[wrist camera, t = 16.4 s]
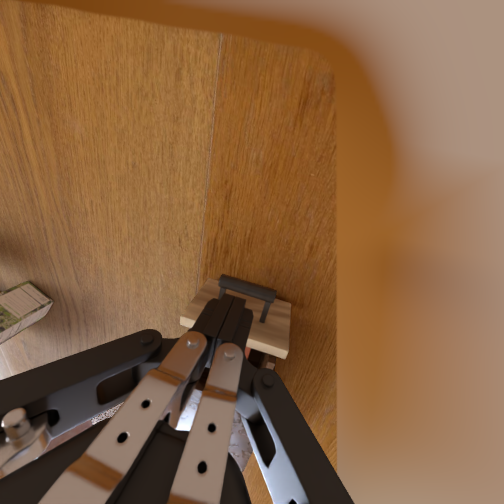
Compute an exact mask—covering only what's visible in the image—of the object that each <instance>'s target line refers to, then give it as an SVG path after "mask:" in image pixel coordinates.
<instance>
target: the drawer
mask: <svg viewBox="0 0 504 504" xmlns="http://www.w3.org/2000/svg"><path fill="white" fill-rule="evenodd" d="M224 293H227V294H230V295H234V296H235V297H236V296H237V297H240V298H243V299H247V300H246V304H245V308H248V309H251V310H252V311H253V315H254V318H253V321H252V325H251V329H250V333H249V336H248V340H247V344H246V346H247V347H250V348H251V350H250V353H249V357H248V361H249V362H250V363H251V364H252V365H253V366H254V367H256V368H257V369H260V368H269V369H272V370H273V368H274V366H275V362H276V356H277V357H280V358H283V359H286V357H287V354H288V352H289V336H290V316H291V303H288V302H285V301H282V300H278V299H275V297H276V293H277V291H276V290H274V289H271V288H267V287H264V286H261V285H258V284H254V283H251V282H248V281H244V280H241V279H238V278H235V277H231V276H228V275H225V274H222V275H221V277H220V279H219V281H217V280H214V279H211V278H208V280H207V281H206V282H205V284H204V285H203V287H202V288H201V289H200V291H199V292H198V293H197V295H196V296H195V297H194V299H193V300H192V301H191V303H190V304H189V305H188V307H187V308H186V310H185V311H184V312H183V314H182V315H181V318H180V325H183V326H186V327H189V330H188V332H189V331H190V330H191V328H192V326H193V325H194V323H195V322H196V320H197V318H198V317H199V315H200V313H201V312H202V310H203V309H204V307H205V305H206V304H207V302H208V301H210V300H211V299H213V298H216V299H219V300H220V299H221V297H222V295H223V294H224ZM211 365H212V363H211ZM210 369H211V366H210V368H207V367H205V368H204V370H203V373H202V375H201V377H200V380H199V382H198V383H200V384H203V385H205V384H206V381H207V378H208V375H209V372H210Z"/></svg>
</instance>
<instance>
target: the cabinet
mask: <svg viewBox="0 0 504 504" xmlns="http://www.w3.org/2000/svg"><path fill="white" fill-rule="evenodd" d="M274 370H275V366H274V368H273V371H274ZM204 387H205V385H203V384H200V383H198V384H197V386H196V388H195V390H194V392H193V394H192V396H191V397H190V399H189V401H188V403H187V405H186V407H185V409H184V411H183V413H182V415H181V417H180V419H179V422H178V425H177V427H176V430H189V431H190V429H191V425H192V422H193V419H194V416H195V413H196V410H197V407H198V404H199V400H200V397H201V394H202V391H203V389H204ZM228 452H229V453H230V454H231V455H232V457H233V458H234V459H235V461H236V462H237V464H238V466H239V468H240V470H241V472H243V471H244V469H245V467H246V464H247V462H248V460H249V458H250V456H251V454H252V452H253V448H252V445H251V443H250V440H249V437H248V435H247V432H246V430H245V427H244V424H243V422H242V419H241V414H240V413H239V412H238V411H237V410H235V415H234V421H233V427H232V433H231V439H230V445H229V451H228Z"/></svg>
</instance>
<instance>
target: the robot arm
mask: <svg viewBox="0 0 504 504" xmlns="http://www.w3.org/2000/svg"><path fill="white" fill-rule="evenodd" d="M246 300H247V299H243V298H240V297H237V296H236V297H235V296H234V295H230V294H227V293H224V294H223V295H222V297H221V299H220V300H219V299H216V298H213V299H211V300H210V301H208V302H207V304H206V305H205V307H204V309H203V310H202V312H201V313H200V315H199V317H198V318H197V320H196V322H195V323H194V325H193V326H192V328H191V330H190V331H189V332H187V333H185V334H183V335H182V336H181V337H180V338H175V339H168V338H162V335H161V333H160V332H158V331H156V330H153V329H146V330H142V331H139V332H136V333H133V334H131V335H128V336H125V337H122V338H119V339H116V340H114V341H111V342H108V343H105V344H102V345H99V346H97V347H94V348H91V349H88V350H85V351H82V352H79V353H77V354H74V355H71V356H68V357H65V358H62V359H60V360H57V361H54V362H51V363H48V364H45V365H43V366H40V367H37V368H34V369H31V370H28V371H26V372H23V373H20V374H17V375H14V376H11V377H9V378H6V379H3V380H0V504H251V500H250V497H249V494H248V490H247V487H246V484H245V480H244V477H243V475H242V472H241V470H240V468H239V466H238V464H237V462H236V461H235V459H234V458H233V457H232V455H231V454H230V453H229V452H228V451H229V445H230V439H231V433H232V427H233V421H234V415H235V410H237V411H238V412H239V413H240V414H241V419H242V422H243V424H244V427H245V430H246V432H247V435H248V437H249V440H250V443H251V445H252V448H253V450H254V453H255V456H256V458H257V461H258V463H259V466H260V469H261V471H262V474H263V477H264V479H265V482H266V484H267V487H268V490H269V492H270V495H271V497H272V500H273V503H274V504H354V502H353V501H352V499H351V497H350V495H349V494H348V492H347V490H346V489H345V487H344V486H343V484H342V482H341V480H340V479H339V477H338V475H337V473H336V472H335V470H334V468H333V467H332V465H331V463H330V461H329V460H328V458H327V456H326V455H325V453H324V451H323V450H322V448H321V446H320V444H319V443H318V441H317V439H316V438H315V436H314V434H313V433H312V431H311V429H310V427H309V426H308V424H307V422H306V421H305V419H304V417H303V416H302V414H301V412H300V410H299V409H298V407H297V405H296V404H295V402H294V400H293V399H292V397H291V395H290V394H289V392H288V390H287V388H286V387H285V385H284V383H283V382H282V380H281V378H280V377H279V375H278V374H277V373H276V372H275V371H273V370H272V369H269V368H260V369H257V368H256V367H254V366H253V365H252V364H251V363H250V362H249V361H248V360H247V358H246V355H245V348H246V344H247V340H248V336H249V333H250V329H251V325H252V321H253V318H254V315H253V311H252V310H251V309H248V308H245V304H246ZM211 363H212V365H211ZM210 366H211V369H210V372H209V375H208V378H207V381H206V384H205V387H204V389H203V391H202V394H201V397H200V400H199V404H198V407H197V410H196V413H195V416H194V419H193V422H192V425H191V429H190V431H189V430H176V427H177V425H178V422H179V419H180V417H181V415H182V413H183V411H184V409H185V407H186V405H187V403H188V401H189V399H190V397H191V396H192V394H193V392H194V390H195V388H196V386H197V384H198V382H199V380H200V377H201V375H202V373H203V370H204V368H205V367H207V368H210ZM122 402H124V403H123V404H122V405H121V406H120V408H119V409H118V410H117V411H116V413H115V414H114V415H113V417H110V418H107V419H105V420H102V421H100V422H98V423H96V424H95V425H93V426H91V427H89V428H88V429H86V430H84V431H83V432H81V433H79V434H77V435H76V436H74V437H72V438H70V439H69V440H67V441H65V442H64V443H62V444H60V445H58V446H57V447H55V448H53V449H51V450H50V451H48V452H46V453H45V454H43V455H41V454H42V453H43V452H44V451H45V450H46V448H47V447H48V445H49V443H50V441H51V440H52V439H54V438H56V437H57V436H59V435H61V434H63V433H65V432H67V431H69V430H71V429H73V428H75V427H76V426H78V425H80V424H82V423H84V422H86V421H88V420H90V419H92V418H93V417H95V416H97V415H99V414H101V413H103V412H105V411H107V410H109V409H111V408H112V407H114V406H116V405H118V404H120V403H122ZM40 455H41V456H40Z"/></svg>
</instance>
